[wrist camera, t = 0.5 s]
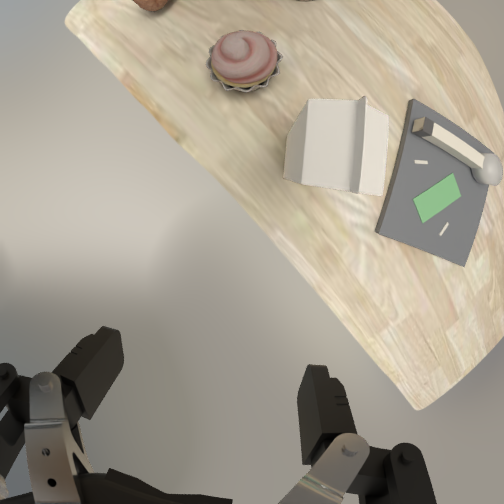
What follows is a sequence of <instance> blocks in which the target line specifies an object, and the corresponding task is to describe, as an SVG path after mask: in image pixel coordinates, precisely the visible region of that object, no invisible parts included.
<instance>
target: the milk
mask: <svg viewBox="0 0 504 504" xmlns="http://www.w3.org/2000/svg"><path fill="white" fill-rule="evenodd" d="M388 132H389V115H387V114H385V113H383V112H381V111H379V110H378V109H376V108H374V107H372V106H369V105H367V97H366V96H363V97H362V98H360V99H359V100H344V99H308V100H307V102H306V104H305V106H304V107H303V109H302V111H301V112H300V114H299V116H298V117H297V119H296V121H295V122H294V124H293V126H292V128H291V129H290V131H289V133H288V134H287V140H286V152H285V163H284V173H283V178H284V179H287V180H290V181H293V182H296V183H299V184H303V185H309V186H316V187H323V188H329V189H336V190H342V191H348V192H353V193H357V194H358V193H362V194H369V195H376V196H383V189H384V181H385V172H386V161H387V148H388Z"/></svg>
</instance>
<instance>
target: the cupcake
mask: <svg viewBox="0 0 504 504" xmlns="http://www.w3.org/2000/svg"><path fill="white" fill-rule="evenodd" d="M209 53H210V57H209V59H208V60H207V62H206V66H207V68H209V69H210V70H211V75H210V77H211V80H213V81H216V82H221V83H222V85H223V87H224V89H225V90H226V91H227V90H232V89H235V90H238V91H241V92H249V91H253V90H256V89H258V88H260V87H267V85H268V83H269V79H270V78H272V77H274V76H276V75H278V74H280V70H279V67H278V63H279V62H280V61H281V60H282V58H283V56H282V54H280V53H279V52H278V51H277V50H276V41H274V40H270V39H269V38H267V37H266V36H264V35H263V34H262V33H261V32H252V31H243V30H240V31H236V32H232V33H229V34H226V35H224V36H222V37H221V38H220V39H219V40H218V41H217V42H216V44H215V45H214V46H212V47H211V48H210V49H209Z"/></svg>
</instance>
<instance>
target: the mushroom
mask: <svg viewBox="0 0 504 504" xmlns="http://www.w3.org/2000/svg"><path fill="white" fill-rule="evenodd" d="M133 1H134V2H135V3H136V4H138V5H139V6H140V7H141V8H143V9H145V10H148V11H157V10H159V9H162V8H163V7H164V6H165V4H166V3H167V2H168V0H133Z"/></svg>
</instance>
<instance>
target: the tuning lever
mask: <svg viewBox="0 0 504 504" xmlns="http://www.w3.org/2000/svg"><path fill="white" fill-rule="evenodd" d="M412 133H413V134H415V135H417V136H419V137H422V138H424V139H425V140H427V141H429V142H431V143H432V144H434V145H436V146H438V147H439V148H441V149H443V150H444V151H446V152H448V153H449V154H451V155H452V156H454V157H456V158H457V159H459V160H460V161H462V162H463V163H465V164H466V165H468V166H469V167H471V169H472V174H473V177H474V178H475V180H476V181H477V182H478V183H481V184H488V185H494V186H496V185H498V184H499V183H500V182H501V180H502V175H503V168H502V163H501V161H500V159H499V157H498V156H497V155H496V154H493V153H479V152H478V151H476V150H475V149H474V148H472V147H471V146H469V145H468V144H467V143H465V142H464V141H462V140H461V139H459V138H458V137H456V136H455V135H453V134H452V133H450V132H449V131H447V130H446V129H444V128H443V127H441V126H439V125H438V124H436V123H434V121H432V120H430V119H428V118H427V117H422V118H419V119H415V120H414V124H413V129H412Z"/></svg>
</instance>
